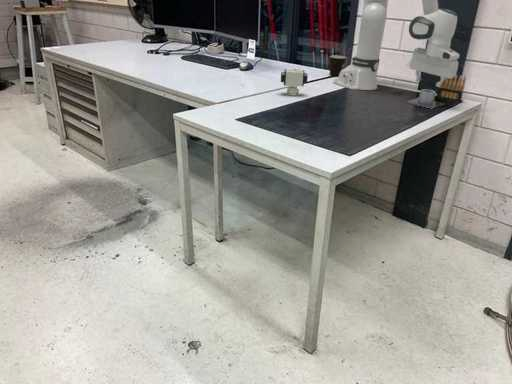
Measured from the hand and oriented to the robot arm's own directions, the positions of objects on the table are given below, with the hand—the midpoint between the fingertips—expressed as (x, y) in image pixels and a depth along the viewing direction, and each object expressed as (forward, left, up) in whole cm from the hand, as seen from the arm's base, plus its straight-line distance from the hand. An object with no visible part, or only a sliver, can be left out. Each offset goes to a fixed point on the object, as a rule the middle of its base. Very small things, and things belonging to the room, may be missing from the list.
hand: (427, 83), depth 181 cm
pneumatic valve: (-44, -39, -9) cm, 59 cm away
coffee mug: (-58, +9, -9) cm, 60 cm away
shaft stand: (+1, 0, -9) cm, 9 cm away
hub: (+1, 0, -8) cm, 8 cm away
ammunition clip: (+4, +16, -9) cm, 19 cm away
